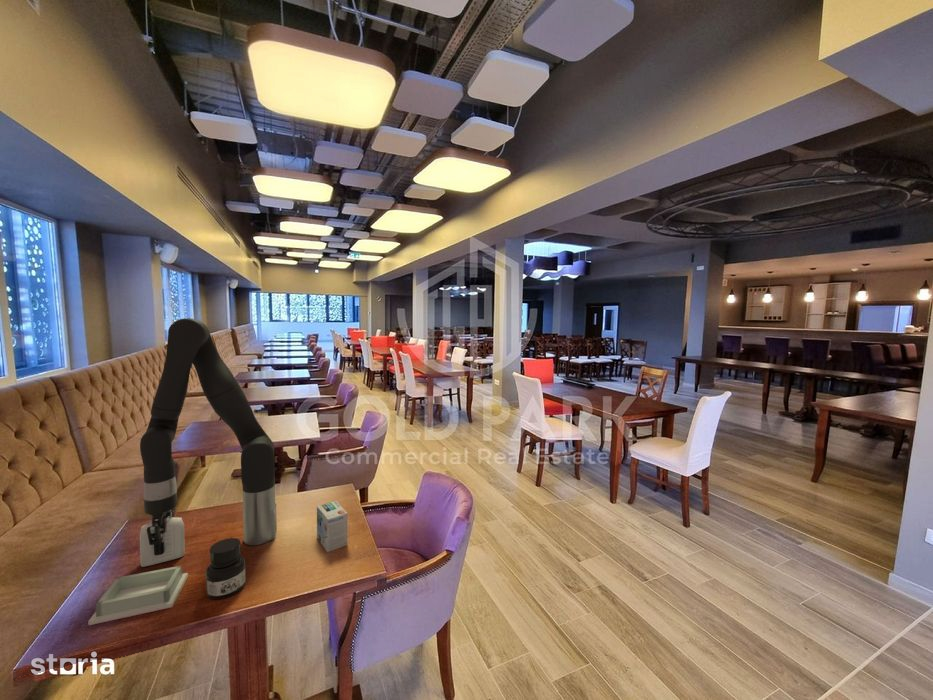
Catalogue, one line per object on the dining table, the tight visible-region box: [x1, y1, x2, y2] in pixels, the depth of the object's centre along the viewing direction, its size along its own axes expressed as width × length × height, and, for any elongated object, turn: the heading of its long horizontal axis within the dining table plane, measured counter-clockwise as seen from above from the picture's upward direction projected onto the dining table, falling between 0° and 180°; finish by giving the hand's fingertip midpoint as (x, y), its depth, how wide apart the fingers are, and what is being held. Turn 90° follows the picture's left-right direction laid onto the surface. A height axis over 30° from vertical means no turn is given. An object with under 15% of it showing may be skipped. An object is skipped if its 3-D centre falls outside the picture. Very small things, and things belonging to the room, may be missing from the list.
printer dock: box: [87, 565, 189, 626], centre depth 95 cm, size 16×12×4 cm
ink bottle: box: [205, 537, 247, 600], centre depth 99 cm, size 10×9×12 cm
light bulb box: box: [316, 500, 348, 553], centre depth 121 cm, size 11×7×11 cm, turn 39°
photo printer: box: [139, 516, 185, 568], centre depth 110 cm, size 10×4×12 cm, turn 123°
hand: (163, 548), depth 110 cm, fingers closed on photo printer, 4 cm apart
